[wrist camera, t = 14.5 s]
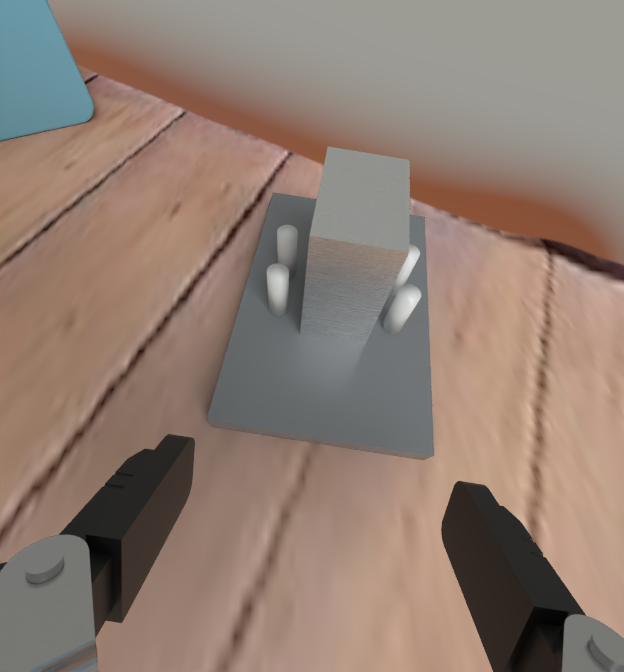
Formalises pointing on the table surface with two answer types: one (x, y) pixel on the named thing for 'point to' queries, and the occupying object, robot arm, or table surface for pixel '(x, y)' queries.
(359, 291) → the block
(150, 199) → the table surface
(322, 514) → the table surface
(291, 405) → the drive dock
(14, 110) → the data package
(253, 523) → the table surface
